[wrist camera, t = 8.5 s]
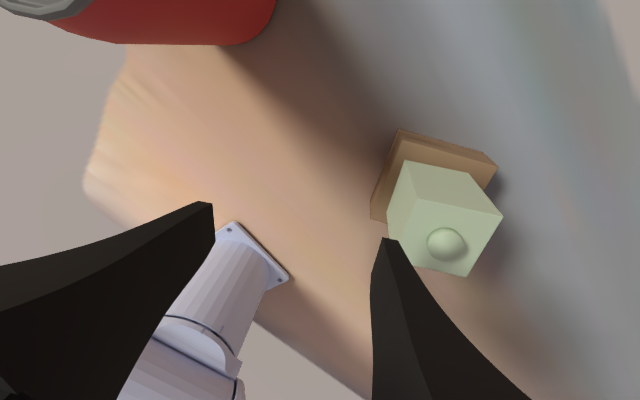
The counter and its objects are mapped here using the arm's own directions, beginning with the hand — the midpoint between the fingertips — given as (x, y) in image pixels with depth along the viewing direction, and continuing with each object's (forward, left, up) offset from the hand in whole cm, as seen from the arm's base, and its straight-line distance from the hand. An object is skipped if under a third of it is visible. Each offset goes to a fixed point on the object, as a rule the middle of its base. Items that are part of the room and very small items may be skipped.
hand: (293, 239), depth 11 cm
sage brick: (+5, -5, -8) cm, 11 cm away
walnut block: (+5, -6, -11) cm, 13 cm away
